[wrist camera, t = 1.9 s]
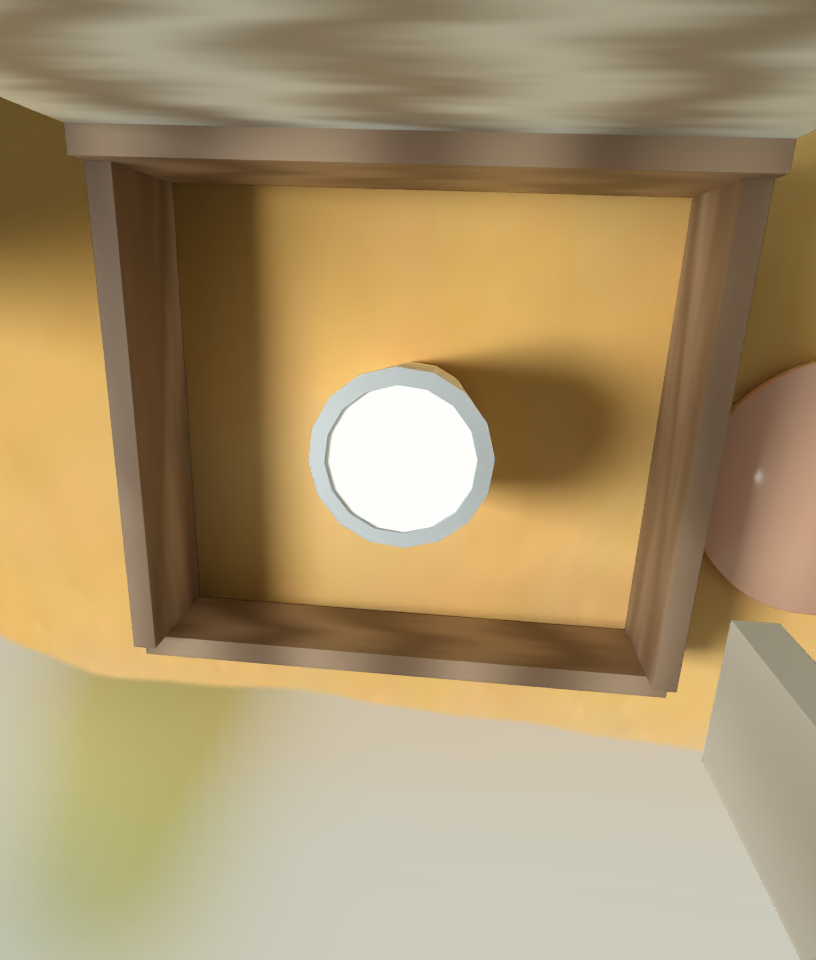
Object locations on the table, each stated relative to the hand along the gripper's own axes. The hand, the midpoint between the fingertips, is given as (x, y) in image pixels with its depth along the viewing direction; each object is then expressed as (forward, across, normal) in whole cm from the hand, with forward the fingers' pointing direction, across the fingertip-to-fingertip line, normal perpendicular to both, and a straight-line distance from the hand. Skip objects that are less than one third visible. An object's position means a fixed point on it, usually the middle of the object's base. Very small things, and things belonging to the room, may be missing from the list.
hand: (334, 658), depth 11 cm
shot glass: (+20, 0, 0) cm, 20 cm away
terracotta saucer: (+20, +19, -2) cm, 27 cm away
